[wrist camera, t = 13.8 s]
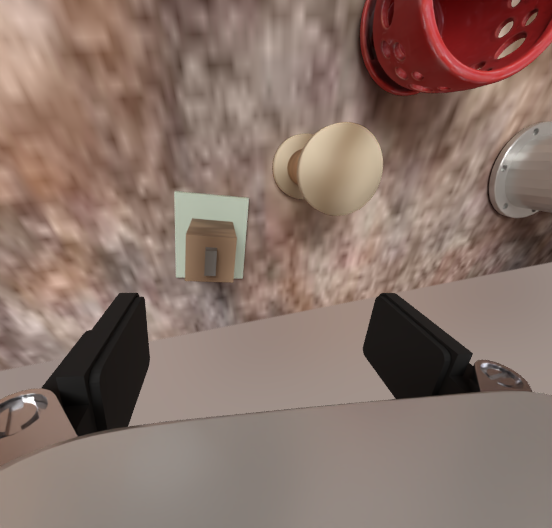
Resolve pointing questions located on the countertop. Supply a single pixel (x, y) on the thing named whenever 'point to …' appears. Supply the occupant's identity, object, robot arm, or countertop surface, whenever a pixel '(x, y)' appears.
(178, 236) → the board
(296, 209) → the countertop surface
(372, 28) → the plant pot
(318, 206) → the cream drawer knob
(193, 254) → the block
